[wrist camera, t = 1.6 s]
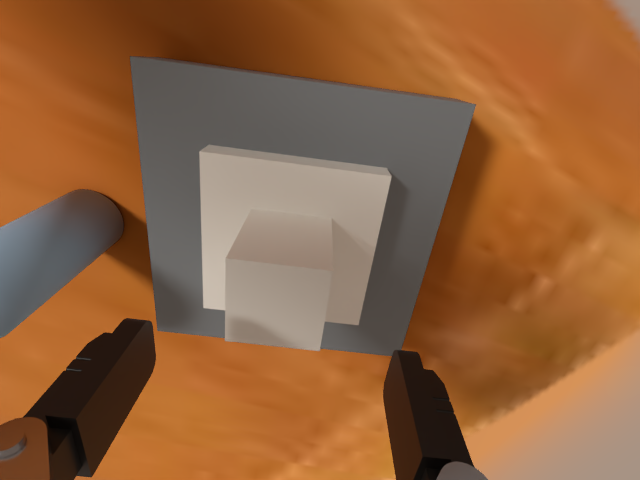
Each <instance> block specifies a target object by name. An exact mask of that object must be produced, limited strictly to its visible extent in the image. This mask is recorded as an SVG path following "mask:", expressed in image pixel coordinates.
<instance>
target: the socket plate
mask: <svg viewBox="0 0 640 480" xmlns="http://www.w3.org/2000/svg"><path fill="white" fill-rule="evenodd" d="M130 63H131V73H132V83H133V93H134V103H135V112H136V122H137V132H138V142H139V152H140V162H141V172H142V181H143V191H144V201H145V211H146V221H147V231H148V241H149V251H150V260H151V270H152V280H153V290H154V300H155V310H156V320H157V330H158V331H164V332H174V333H183V334H192V335H201V336H210V337H220V338H225V310H217V309H208V308H203V275H202V236H201V198H200V159H199V151H201V150H202V149H203V148H205V147H206V146H208V145H215V146H223V147H231V148H238V149H246V150H254V151H261V152H269V153H276V154H284V155H292V156H299V157H307V158H315V159H322V160H330V161H338V162H345V163H353V164H360V165H368V166H376V167H383V168H387V169H388V171H389V173H390V174H391V176H392V177H391V182H390V186H389V190H388V195H387V199H386V204H385V208H384V213H383V217H382V222H381V226H380V231H379V235H378V240H377V244H376V249H375V253H374V257H373V262H372V266H371V271H370V275H369V280H368V284H367V289H366V293H365V298H364V302H363V307H362V311H361V316H360V320H359V325H351V324H342V323H333V322H325V323H324V329H323V335H322V340H321V346H320V348H321V349H330V350H339V351H348V352H358V353H367V354H376V355H385V356H392V354H393V352H394V350H401V349H402V345H403V342H404V339H405V336H406V332H407V329H408V326H409V323H410V319H411V316H412V313H413V309H414V306H415V303H416V300H417V296H418V293H419V290H420V286H421V283H422V280H423V277H424V273H425V270H426V267H427V264H428V260H429V257H430V254H431V250H432V247H433V244H434V241H435V237H436V234H437V231H438V227H439V224H440V221H441V218H442V214H443V211H444V208H445V205H446V201H447V198H448V195H449V191H450V188H451V185H452V182H453V178H454V175H455V172H456V168H457V165H458V162H459V159H460V155H461V152H462V149H463V146H464V142H465V139H466V136H467V132H468V129H469V126H470V123H471V119H472V116H473V113H474V109H475V106H476V104H472V103H468V102H465V101H461V100H458V99H453V98H446V97H438V96H431V95H424V94H417V93H410V92H403V91H396V90H389V89H381V88H374V87H367V86H360V85H353V84H346V83H339V82H331V81H324V80H317V79H310V78H303V77H296V76H289V75H282V74H274V73H267V72H260V71H253V70H246V69H239V68H232V67H224V66H217V65H210V64H203V63H196V62H189V61H182V60H175V59H167V58H160V57H139V56H130Z"/></svg>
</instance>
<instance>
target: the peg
mask: <svg viewBox="0 0 640 480" xmlns="http://www.w3.org/2000/svg"><path fill="white" fill-rule="evenodd" d="M123 230H124V222H123V218H122V215H121V213H120V211H119V210H118V208H117V207H116V206H115V204H114V203H113V202H112V201H111V200H109V199H108V198H107V197H105V196H104V195H102V194H100V193H98V192H95V191H92V190H86V189H80V190H75V191H72V192H70V193H68V194H66V195H64V196H62V197H60V198H58V199H56V200H54V201H52V202H50V203H48V204H46V205H44V206H42V207H40V208H38V209H36V210H34V211H32V212H30V213H28V214H26V215H24V216H22V217H20V218H18V219H16V220H14V221H12V222H10V223H8V224H6V225H4V226H2V227H0V338H1V337H4V336H5V335H7V334H8V333H9V332H11V331H12V330H13V329H14V328H15V327H17V326H18V325H19V324H20V323H21V322H22V321H24V320H25V319H26V318H27V317H28V316H29V315H31V314H32V313H33V312H34V311H35V310H37V309H38V308H39V307H40V306H41V305H42V304H44V303H45V302H46V301H47V300H48V299H50V298H51V297H52V296H53V295H54V294H55V293H57V292H58V291H59V290H60V289H61V288H62V287H64V286H65V285H66V284H67V283H68V282H70V281H71V280H72V279H73V278H74V277H75V276H77V275H78V274H79V273H80V272H81V271H82V270H84V269H85V268H86V267H87V266H88V265H90V264H91V263H92V262H93V261H94V260H95V259H97V258H98V257H99V256H100V255H101V254H102V253H104V252H105V251H106V250H107V249H108V248H110V247H111V246H112V245H113V244H114V243H115V242H117V241H118V240H119V239H120V237H121V236H122V233H123Z"/></svg>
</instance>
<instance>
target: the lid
mask: <svg viewBox="0 0 640 480" xmlns="http://www.w3.org/2000/svg"><path fill="white" fill-rule="evenodd" d="M199 159H200V198H201V236H202V275H203V308H208V309H217V310H225V341H231V342H240V343H250V344H259V345H268V346H277V347H287V348H296V349H305V350H314V351H320V346H321V340H322V335H323V329H324V323H325V322H333V323H342V324H351V325H359V320H360V316H361V311H362V307H363V302H364V298H365V293H366V289H367V284H368V280H369V275H370V271H371V266H372V262H373V257H374V253H375V249H376V244H377V240H378V235H379V231H380V226H381V222H382V217H383V213H384V208H385V204H386V199H387V195H388V190H389V186H390V182H391V177H392V176H391V174H390V173H389V171H388V169H387V168H383V167H376V166H368V165H360V164H353V163H345V162H338V161H330V160H322V159H315V158H307V157H299V156H292V155H284V154H276V153H269V152H261V151H254V150H246V149H238V148H231V147H223V146H215V145H208V146H206V147H205V148H203V149H202V150H201V151H199Z"/></svg>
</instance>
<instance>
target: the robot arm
mask: <svg viewBox="0 0 640 480" xmlns="http://www.w3.org/2000/svg"><path fill="white" fill-rule="evenodd" d="M155 360H156V353H155V343H154V334H153V326H152V322H151V321H147V320H138V319H129V318H126V319H124V320H123V321H122V322H121V323H120V324H119V325H118V327H117V328H116V329H115V330H114V332H113V333H103V334H102V335H100V336H98V337H97V338H95V339H94V340H92V341H91V342H89V343H88V344H87V345H86V346H85V347H84V348H83V350H82V351H81V352H80V353H79V354H78V355H77V356H76V359H74V360H73V361H72V362H71V363H70V364H69V366H68V367H67V369H66V371H63V372H62V374H61V375H60V376H59V377H58V378H57V379H56V380H55V382H54V383H53V384H52V385H51V386H50V387H49V388H48V390H47V391H46V392H45V393H44V394H43V395H42V396H41V398H40V399H39V400H38V401H37V402H36V403H35V404H34V406H33V407H32V408H31V409H30V410H29V411H28V412H27V414H26V415H25V416H24V417H23V418H17V419H14V420H11V421H8V422H6V423H4V424H2V425H0V480H74V479H75V477H76V476H84V477H92V476H93V474H94V473H95V471H96V469H97V468H98V466H99V464H100V462H101V461H102V459H103V457H104V455H105V454H106V452H107V450H108V449H109V447H110V445H111V443H112V442H113V440H114V438H115V436H116V435H117V433H118V431H119V430H120V428H121V426H122V424H123V423H124V421H125V419H126V418H127V416H128V414H129V412H130V411H131V409H132V407H133V405H134V404H135V402H136V400H137V399H138V397H139V395H140V393H141V392H142V390H143V388H144V386H145V385H146V383H147V381H148V380H149V378H150V376H151V374H152V372H153V369H154V366H155ZM383 399H384V406H385V413H386V419H387V425H388V431H389V438H390V444H391V450H392V456H393V463H394V469H395V475H396V480H488V479H487V478H486V477H485V476H484V475H483V474H482V473H481V472H480V471H479V470H477V469H476V468H475V467H474V465H473V463H472V460H471V458H470V455H469V452H468V449H467V447H466V444H465V441H464V438H463V435H462V433H461V430H460V427H459V424H458V421H457V419H456V416H455V414H454V410H453V408H452V405H451V402H449V396H448V394H447V391H446V388H445V385H444V383H443V382H442V381H441V380H440V378H439V377H438V376H437V375H436V373H435V372H434V371H433V370H425V369H424V368H423V365H422V362H421V359H420V356H419V354H418V353H417V352H411V351H402V350H394V352H393V354H392V358H391V361H390V365H389V368H388V372H387V375H386V379H385V382H384V390H383Z"/></svg>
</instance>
